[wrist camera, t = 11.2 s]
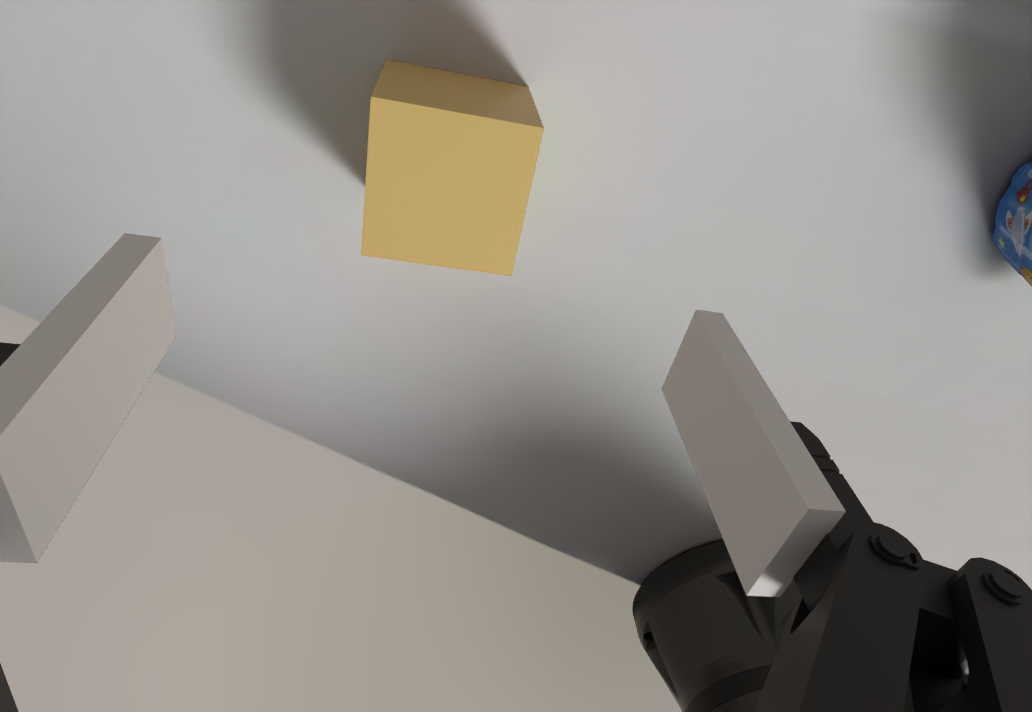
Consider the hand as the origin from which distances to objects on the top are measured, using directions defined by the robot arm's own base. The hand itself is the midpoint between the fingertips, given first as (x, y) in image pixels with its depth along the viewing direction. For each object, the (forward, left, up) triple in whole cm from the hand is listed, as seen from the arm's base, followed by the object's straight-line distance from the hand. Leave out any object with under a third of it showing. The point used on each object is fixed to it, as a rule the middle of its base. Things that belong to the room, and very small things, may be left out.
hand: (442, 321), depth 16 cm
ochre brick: (0, 0, -15) cm, 15 cm away
